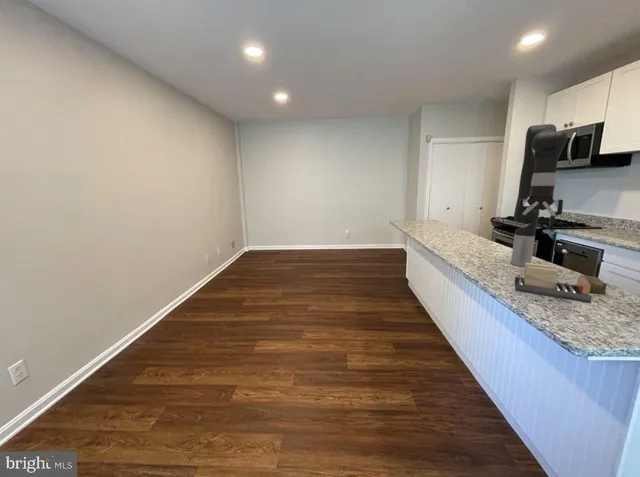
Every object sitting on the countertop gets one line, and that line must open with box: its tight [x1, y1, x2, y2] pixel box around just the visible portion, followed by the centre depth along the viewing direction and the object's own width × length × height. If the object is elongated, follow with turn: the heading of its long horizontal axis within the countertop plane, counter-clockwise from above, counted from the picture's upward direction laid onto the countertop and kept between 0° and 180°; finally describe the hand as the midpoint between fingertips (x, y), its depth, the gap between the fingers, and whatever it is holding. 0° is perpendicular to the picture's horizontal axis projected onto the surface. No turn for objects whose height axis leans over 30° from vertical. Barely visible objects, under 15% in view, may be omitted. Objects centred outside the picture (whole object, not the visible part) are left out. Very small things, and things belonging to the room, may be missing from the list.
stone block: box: [580, 274, 607, 295], centre depth 120 cm, size 6×12×5 cm, turn 153°
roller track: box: [514, 276, 593, 304], centre depth 118 cm, size 12×24×7 cm, turn 57°
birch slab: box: [523, 262, 558, 289], centre depth 119 cm, size 8×10×8 cm
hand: (536, 224), depth 114 cm, fingers open, 8 cm apart
